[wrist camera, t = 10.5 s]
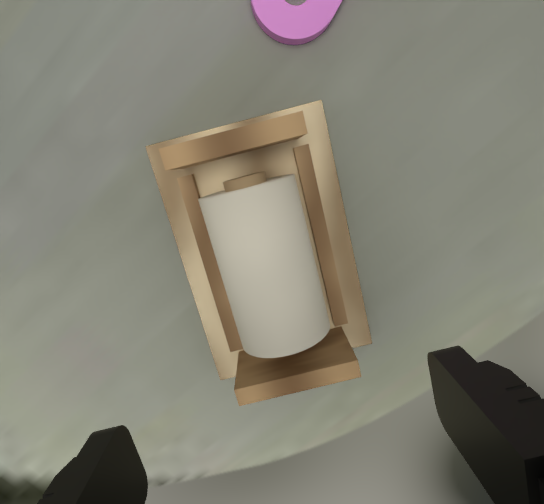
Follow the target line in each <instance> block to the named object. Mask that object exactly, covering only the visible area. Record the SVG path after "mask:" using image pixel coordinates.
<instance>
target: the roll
mask: <svg viewBox="0 0 544 504" xmlns="http://www.w3.org/2000/svg"><path fill="white" fill-rule="evenodd" d="M223 185H224V188H225V190H223V191H219V192H216V193H213V194H210V195H207V196H204V197H202V198H199V199H198V201H199V204H200V207H201V211H202V214H203V217H204V221H205V224H206V227H207V231H208V234H209V237H210V240H211V244H212V247H213V250H214V254H215V257H216V260H217V264H218V267H219V270H220V274H221V277H222V280H223V283H224V287H225V290H226V293H227V297H228V300H229V303H230V307H231V310H232V313H233V317H234V320H235V323H236V326H237V330H238V333H239V336H240V340H241V343H242V346H243V349H244V351H245V352H246V353H248V354H249V355H252V356H255V357H259V358H278V357H284V356H289V355H292V354H296V353H299V352H301V351H304V350H306V349H308V348H310V347H312V346H314V345H315V344H317V343H318V342H320V341H321V340H322V339H323V338H324V337H325V336H326V335H327V333H328V332H329V329H330V322H329V318H328V313H327V309H326V305H325V301H324V297H323V292H322V288H321V284H320V280H319V275H318V271H317V267H316V263H315V259H314V254H313V250H312V246H311V242H310V238H309V233H308V229H307V225H306V221H305V217H304V212H303V208H302V204H301V200H300V196H299V191H298V187H297V183H296V179H295V174H287V175H281V176H277V177H272V178H268V179H266V175H265V171H262V172H258V173H253V174H249V175H246V176H242V177H238V178H234V179H231V180H228V181H224V182H223Z"/></svg>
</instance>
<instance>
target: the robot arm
mask: <svg viewBox="0 0 544 504" xmlns="http://www.w3.org/2000/svg"><path fill="white" fill-rule="evenodd" d="M428 365H429V371H430V376H431V382H432V388H433V393H434V399H435V404H436V409H437V412H438V415H439V418H440V420H441V423H442V425H443V427H444V429H445V430H446V432H447V434H448V435H449V437H450V438H451V440H452V441H453V443H454V444H455V446H456V447H457V449H458V450H459V452H460V453H461V455H462V456H463V457H464V459H465V461H466V462H467V464H468V465H469V466H470V468H471V469H472V471H473V472H474V474H475V475H476V477H477V478H478V480H479V481H480V483H481V484H482V486H483V487H484V489H485V490H486V492H487V493H488V495H489V496H490V498H491V499H492V501H493V502H494V504H544V399H541V397H540V395H538V393H536V392H535V391H534V390H533V389H532V388H531V387H527V385H526V383H525V382H524V381H522V380H521V379H520V378H519V377H518V376H516V375H515V374H514V373H513V372H512V371H511V370H509V369H507V368H504V367H502V366H500V365H498V364H495V363H493V362H491V361H488V360H487V361H483V362H479V363H477V362H476V361H475V360H474V359H473V358H472V357H471V356H470V355H469V354H468V353H467V352H466V351H465V350H464V349H463V348H461V347H460V346H454V347H450V348H446V349H442V350H437V351H433V352H429V353H428ZM147 489H148V483H147V476H146V472H145V469H144V467H143V464H142V462H141V459H140V457H139V454H138V452H137V449H136V447H135V444H134V442H133V440H132V437H131V435H130V432H129V430H128V429H127V428H126V427H125V426H123V425H121V426H117V427H112V428H108V429H104V430H100V431H96V432H93V433H92V434H91V435H90V436H89V438H88V440H87V441H86V443H85V444H84V446H83V448H82V449H81V451H80V452H79V454H78V455H77V457H74V458H73V459H72V460H71V461H70V462H69V463H68V464H67V465H66V466H65V467H64V468H63V469H62V470H61V471H60V472H59V473H58V474H57V475H56V476H55V477H54V479H53V480H52V482H51V484H50V485H49V487H48V488H47V490H46V491H45V493H44V494H43V499H40V500H39V502H38V503H37V504H145V500H146V497H147Z"/></svg>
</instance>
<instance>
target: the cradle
mask: <svg viewBox="0 0 544 504" xmlns="http://www.w3.org/2000/svg"><path fill="white" fill-rule="evenodd" d="M146 150H147V153H148V156H149V159H150V162H151V165H152V168H153V171H154V174H155V178H156V181H157V184H158V187H159V190H160V193H161V196H162V199H163V202H164V206H165V209H166V212H167V215H168V218H169V221H170V224H171V227H172V230H173V234H174V237H175V240H176V243H177V246H178V249H179V252H180V255H181V258H182V262H183V265H184V268H185V271H186V274H187V277H188V280H189V283H190V286H191V290H192V293H193V296H194V299H195V302H196V305H197V308H198V311H199V314H200V318H201V321H202V324H203V327H204V330H205V333H206V336H207V339H208V342H209V346H210V349H211V352H212V355H213V358H214V361H215V364H216V367H217V370H218V374H219V377H220V380H224V379H228V378H232V377H236V379H235V388H234V391H235V394H236V397H237V400H238V404H239V406H242V405H246V404H250V403H254V402H258V401H262V400H267V399H271V398H275V397H279V396H283V395H287V394H292V393H296V392H300V391H304V390H308V389H312V388H316V387H321V386H325V385H329V384H333V383H337V382H341V381H346V380H350V379H354V378H358V377H361V373H360V368H359V364H358V360H357V358H356V356H355V354H354V351H353V349H352V348H355V347H359V346H364V345H368V344H372V340H371V336H370V331H369V326H368V321H367V316H366V312H365V307H364V302H363V297H362V292H361V287H360V283H359V278H358V273H357V268H356V263H355V259H354V254H353V249H352V244H351V239H350V234H349V230H348V225H347V220H346V215H345V210H344V206H343V201H342V196H341V191H340V186H339V181H338V177H337V172H336V167H335V162H334V157H333V153H332V148H331V143H330V138H329V133H328V128H327V124H326V119H325V114H324V109H323V104H322V100H319V101H315V102H311V103H308V104H304V105H300V106H296V107H292V108H289V109H285V110H281V111H277V112H274V113H270V114H266V115H262V116H258V117H255V118H251V119H247V120H243V121H239V122H236V123H232V124H228V125H224V126H221V127H217V128H213V129H209V130H205V131H202V132H198V133H194V134H190V135H187V136H183V137H179V138H175V139H171V140H168V141H164V142H160V143H156V144H153V145H149V146H146ZM262 171H265V175H266V179H268V178H272V177H277V176H281V175H287V174H295V179H296V183H297V187H298V191H299V196H300V200H301V204H302V208H303V212H304V217H305V221H306V225H307V229H308V233H309V238H310V242H311V246H312V250H313V254H314V259H315V263H316V267H317V271H318V275H319V280H320V284H321V288H322V292H323V297H324V301H325V305H326V309H327V313H328V318H329V322H330V329H329V332H328V333H327V335H326V336H325V337H324V338H323V339H322V340H321V341H320V342H318V343H317V344H315V345H314V346H312V347H310V348H308V349H306V350H304V351H301V352H299V353H296V354H292V355H289V356H284V357H278V358H259V357H255V356H252V355H249V354H248V353H246V352H245V351H244V349H243V346H242V343H241V340H240V336H239V333H238V330H237V326H236V323H235V320H234V317H233V313H232V310H231V307H230V303H229V300H228V297H227V293H226V290H225V287H224V283H223V280H222V277H221V274H220V270H219V267H218V264H217V260H216V257H215V254H214V250H213V247H212V244H211V240H210V237H209V234H208V231H207V227H206V224H205V221H204V217H203V214H202V211H201V207H200V204H199V201H198V199H199V198H202V197H204V196H207V195H210V194H213V193H216V192H219V191H223V190H225V188H224V185H223V182H224V181H228V180H231V179H234V178H238V177H242V176H246V175H249V174H253V173H258V172H262Z"/></svg>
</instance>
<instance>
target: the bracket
mask: <svg viewBox="0 0 544 504" xmlns="http://www.w3.org/2000/svg"><path fill="white" fill-rule="evenodd" d="M341 2H342V0H307V1H306V2H305V3H303V4H301V5H298V6H294V5H290V4H289V3H287V2H286V1H285V0H251V6H252V10H253V14H254V16H255V19H256V21H257V23H258V24H259V26H260V27H261V28H262V30H263V31H264V32H265V33H266V34H267V35H268V36H270V37H271V38H272V39H274V40H276V41H278V42H280V43H283V44H288V45H299V44H304V43H307V42H310V41H312V40H314V39H315V38H317V37H318V36H319V35H321V34H322V33H323V32H324V31H325V30H326V28H327V27H328V26H329V24H330V22H331V21H332V19H333V17H334V15H335V13H336V11H337V9H338V7H339V6H340V4H341Z"/></svg>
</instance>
